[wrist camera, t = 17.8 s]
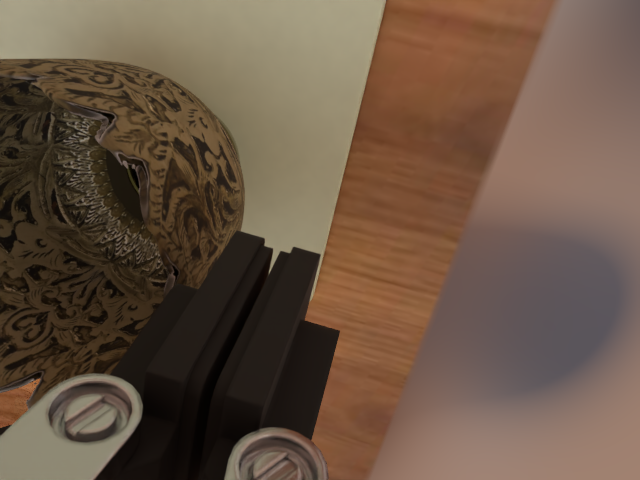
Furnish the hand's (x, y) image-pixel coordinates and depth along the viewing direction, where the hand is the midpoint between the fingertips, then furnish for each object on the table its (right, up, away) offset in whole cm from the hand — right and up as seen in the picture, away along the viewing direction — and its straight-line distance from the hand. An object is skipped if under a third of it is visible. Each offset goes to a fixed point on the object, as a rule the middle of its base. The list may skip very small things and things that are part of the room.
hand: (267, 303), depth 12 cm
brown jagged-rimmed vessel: (-3, +4, +7) cm, 9 cm away
